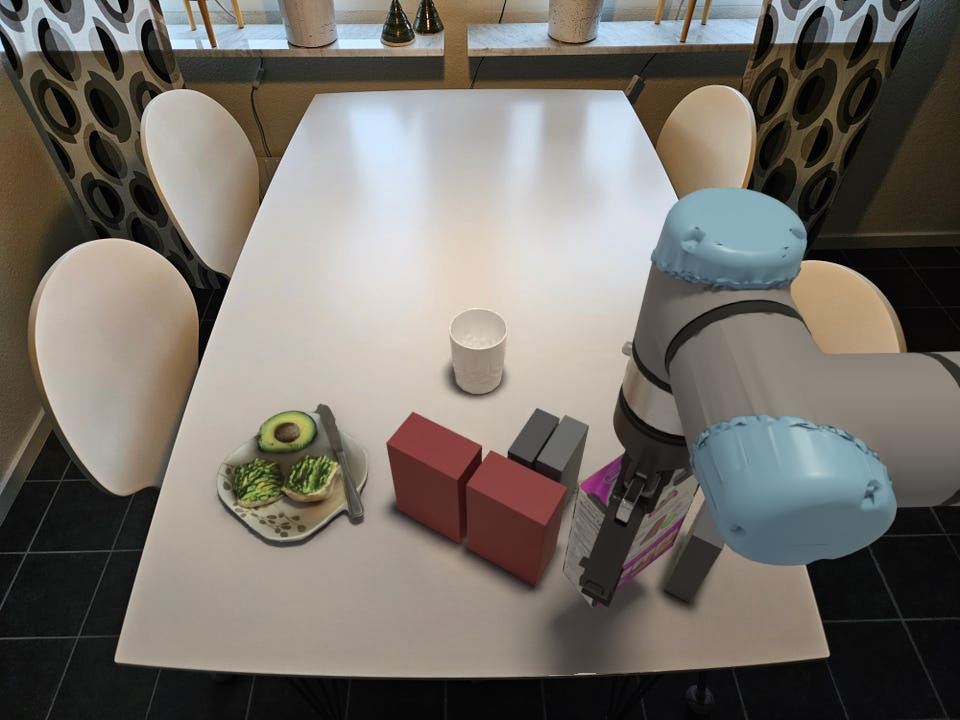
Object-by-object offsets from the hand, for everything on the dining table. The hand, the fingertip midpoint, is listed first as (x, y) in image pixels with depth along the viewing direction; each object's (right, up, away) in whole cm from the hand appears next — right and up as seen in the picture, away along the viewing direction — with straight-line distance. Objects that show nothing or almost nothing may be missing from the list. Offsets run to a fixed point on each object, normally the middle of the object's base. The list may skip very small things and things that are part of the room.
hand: (622, 540), depth 62 cm
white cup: (-14, +15, +32) cm, 38 cm away
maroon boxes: (-14, -3, +16) cm, 21 cm away
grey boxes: (+1, -3, +16) cm, 16 cm away
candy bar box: (0, -3, +3) cm, 4 cm away
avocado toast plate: (-37, +3, +21) cm, 43 cm away
